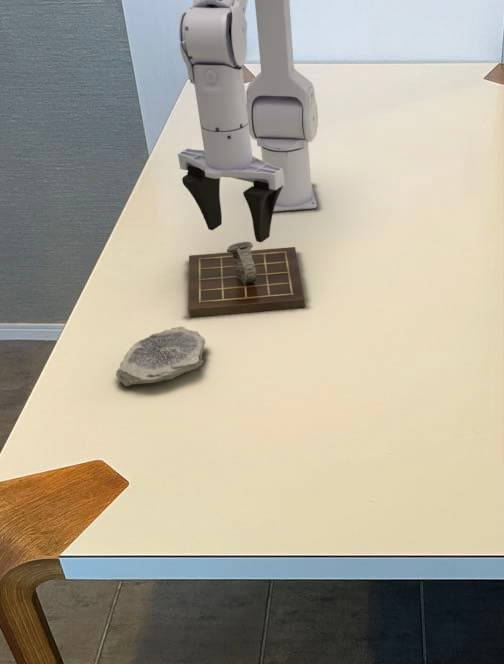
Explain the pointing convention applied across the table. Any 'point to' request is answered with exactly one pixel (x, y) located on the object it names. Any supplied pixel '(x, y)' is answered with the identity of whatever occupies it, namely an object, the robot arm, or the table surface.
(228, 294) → the board
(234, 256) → the wristwatch
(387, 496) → the table surface
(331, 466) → the table surface
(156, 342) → the fossil
